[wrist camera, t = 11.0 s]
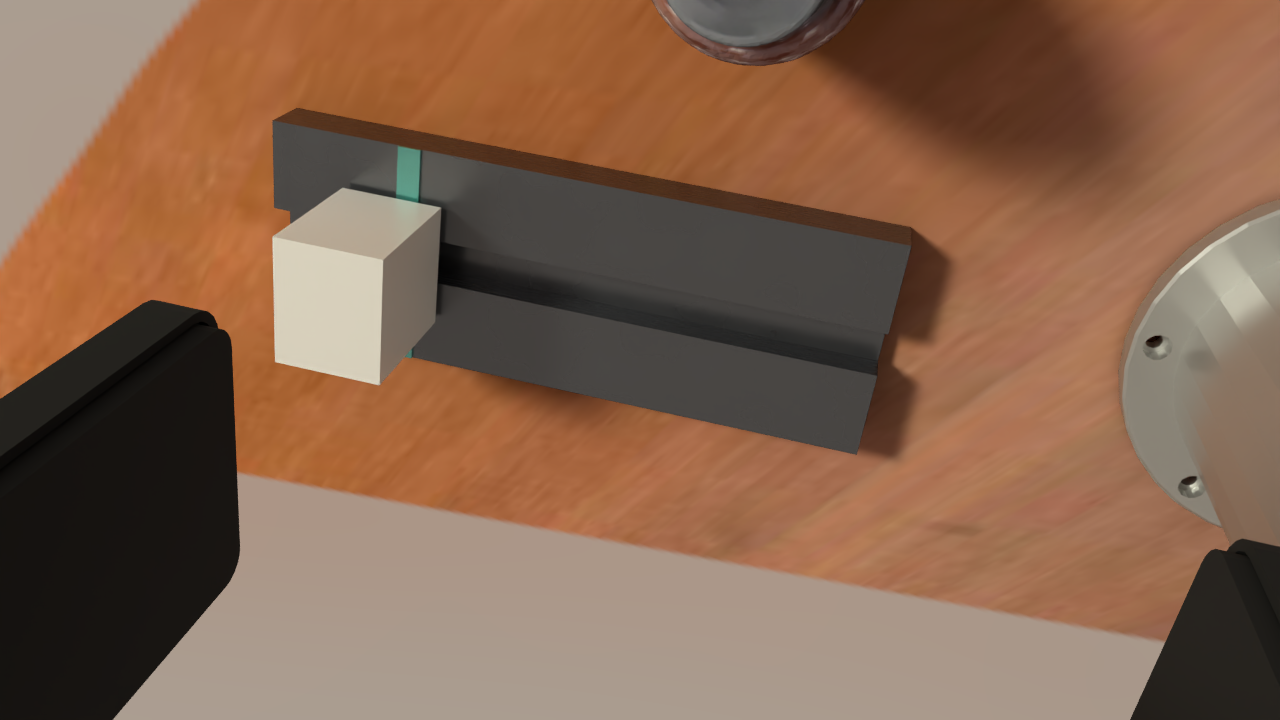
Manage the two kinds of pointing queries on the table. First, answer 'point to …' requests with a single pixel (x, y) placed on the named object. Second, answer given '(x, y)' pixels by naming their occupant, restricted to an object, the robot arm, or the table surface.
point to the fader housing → (627, 278)
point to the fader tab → (355, 284)
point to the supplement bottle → (757, 26)
